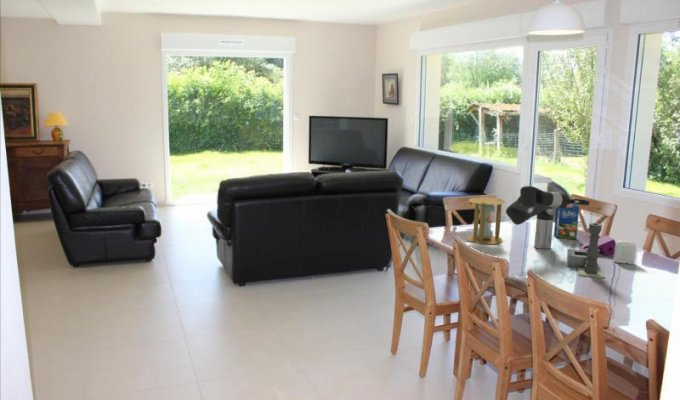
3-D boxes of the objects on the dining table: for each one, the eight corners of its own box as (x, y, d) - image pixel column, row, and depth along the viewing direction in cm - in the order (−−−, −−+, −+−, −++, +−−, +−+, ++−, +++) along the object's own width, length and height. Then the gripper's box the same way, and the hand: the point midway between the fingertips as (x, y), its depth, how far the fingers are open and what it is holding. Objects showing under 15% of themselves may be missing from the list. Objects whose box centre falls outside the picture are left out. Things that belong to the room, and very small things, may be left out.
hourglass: (470, 233, 375) (473, 195, 371) (506, 238, 366) (509, 198, 361) (461, 241, 354) (464, 201, 350) (499, 246, 345) (502, 205, 340)
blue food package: (576, 238, 367) (580, 199, 362) (557, 238, 367) (560, 199, 362) (572, 236, 373) (576, 197, 368) (553, 236, 373) (557, 197, 368)
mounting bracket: (588, 265, 332) (619, 252, 330) (583, 252, 331) (614, 239, 329) (582, 260, 341) (612, 247, 339) (577, 247, 340) (607, 235, 338)
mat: (578, 275, 293) (578, 274, 293) (577, 268, 304) (577, 267, 304) (604, 278, 289) (604, 277, 289) (602, 271, 300) (602, 270, 300)
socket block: (567, 266, 308) (568, 255, 307) (566, 259, 321) (567, 249, 320) (596, 269, 303) (597, 258, 302) (594, 262, 316) (595, 251, 315)
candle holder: (582, 270, 300) (586, 222, 295) (594, 270, 300) (598, 222, 295) (587, 274, 294) (592, 225, 289) (599, 274, 294) (604, 225, 289)
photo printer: (633, 262, 317) (636, 240, 315) (634, 264, 313) (637, 242, 311) (612, 260, 320) (615, 238, 318) (613, 262, 316) (616, 240, 314)
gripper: (545, 207, 291) (571, 209, 296) (565, 208, 277) (592, 211, 283) (546, 192, 291) (572, 195, 296) (567, 192, 277) (593, 195, 283)
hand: (582, 202), depth 290 cm, fingers open, 8 cm apart
